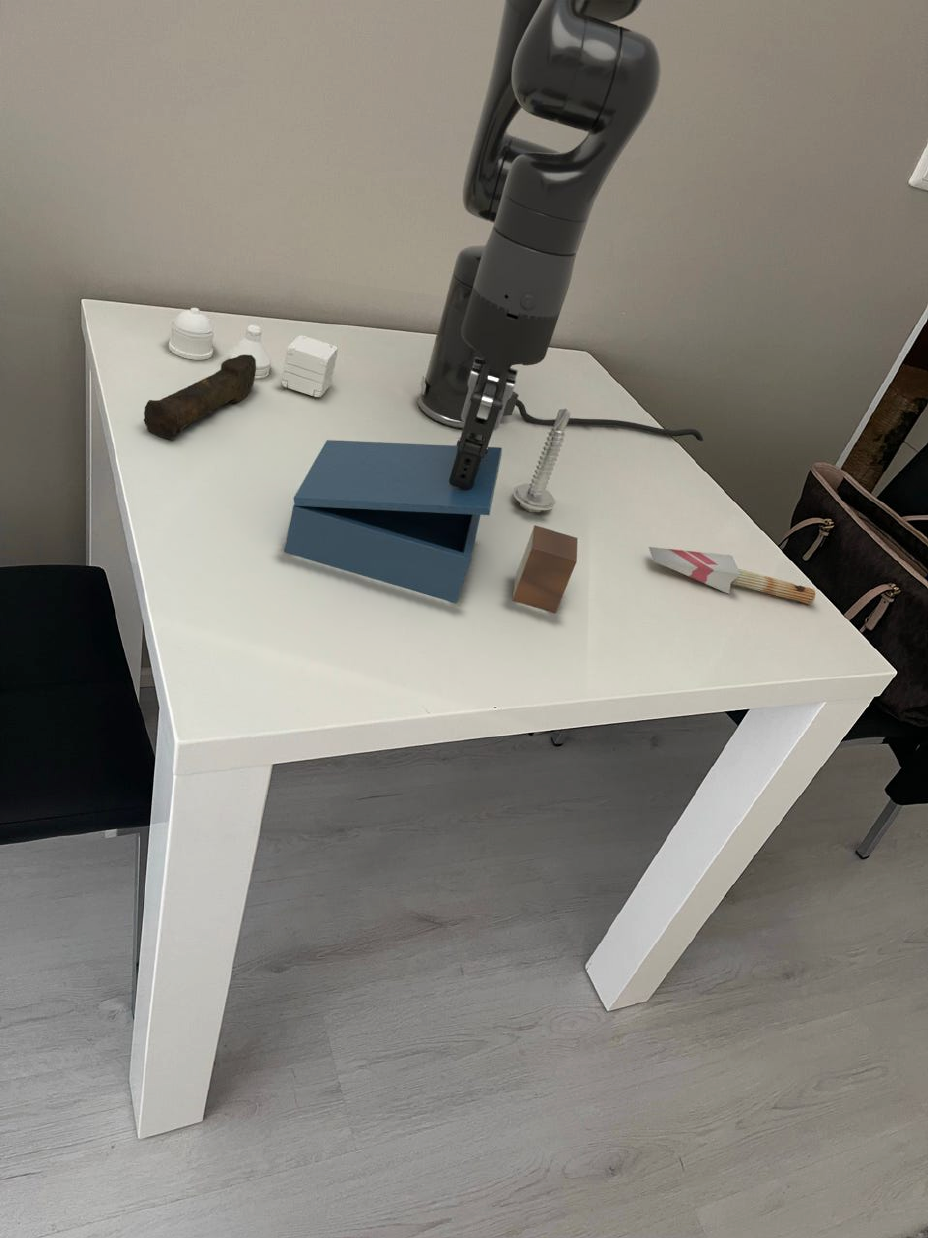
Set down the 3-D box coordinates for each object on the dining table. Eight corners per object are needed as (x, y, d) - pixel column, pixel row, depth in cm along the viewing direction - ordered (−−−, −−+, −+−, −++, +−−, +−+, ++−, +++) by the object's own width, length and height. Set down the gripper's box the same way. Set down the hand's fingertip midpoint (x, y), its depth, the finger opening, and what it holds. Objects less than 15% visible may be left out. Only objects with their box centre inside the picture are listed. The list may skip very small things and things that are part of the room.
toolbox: (469, 543, 100) (484, 495, 97) (454, 609, 90) (470, 559, 87) (315, 496, 99) (326, 447, 96) (282, 558, 89) (292, 506, 86)
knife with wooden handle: (653, 533, 106) (812, 578, 110) (642, 553, 108) (800, 596, 112) (659, 551, 103) (822, 597, 107) (648, 572, 105) (810, 616, 109)
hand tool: (172, 445, 100) (177, 405, 97) (140, 430, 100) (144, 389, 98) (271, 396, 115) (278, 360, 112) (243, 383, 116) (249, 347, 113)
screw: (502, 498, 110) (539, 501, 112) (517, 522, 107) (555, 524, 109) (537, 395, 103) (576, 400, 105) (554, 417, 99) (594, 421, 101)
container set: (330, 386, 121) (338, 345, 118) (318, 401, 117) (327, 359, 114) (179, 337, 121) (183, 294, 118) (161, 350, 117) (165, 306, 113)
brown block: (554, 594, 97) (577, 537, 93) (553, 619, 93) (577, 560, 89) (513, 582, 97) (534, 524, 93) (509, 606, 93) (532, 547, 89)
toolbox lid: (501, 454, 94) (502, 404, 91) (489, 515, 84) (490, 460, 81) (327, 447, 96) (322, 397, 93) (294, 505, 86) (287, 451, 83)
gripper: (483, 258, 85) (435, 429, 95) (464, 305, 73) (412, 495, 83) (564, 284, 85) (508, 452, 95) (558, 335, 74) (495, 521, 83)
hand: (463, 471), depth 89 cm, fingers closed on toolbox lid, 5 cm apart
